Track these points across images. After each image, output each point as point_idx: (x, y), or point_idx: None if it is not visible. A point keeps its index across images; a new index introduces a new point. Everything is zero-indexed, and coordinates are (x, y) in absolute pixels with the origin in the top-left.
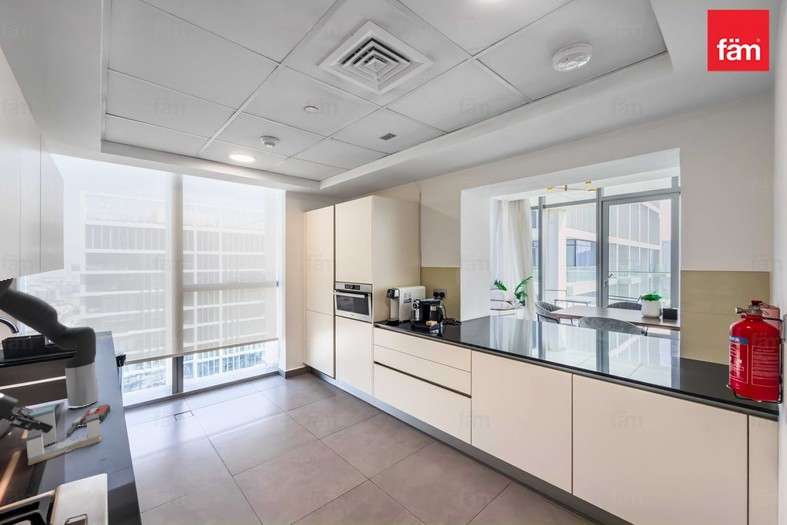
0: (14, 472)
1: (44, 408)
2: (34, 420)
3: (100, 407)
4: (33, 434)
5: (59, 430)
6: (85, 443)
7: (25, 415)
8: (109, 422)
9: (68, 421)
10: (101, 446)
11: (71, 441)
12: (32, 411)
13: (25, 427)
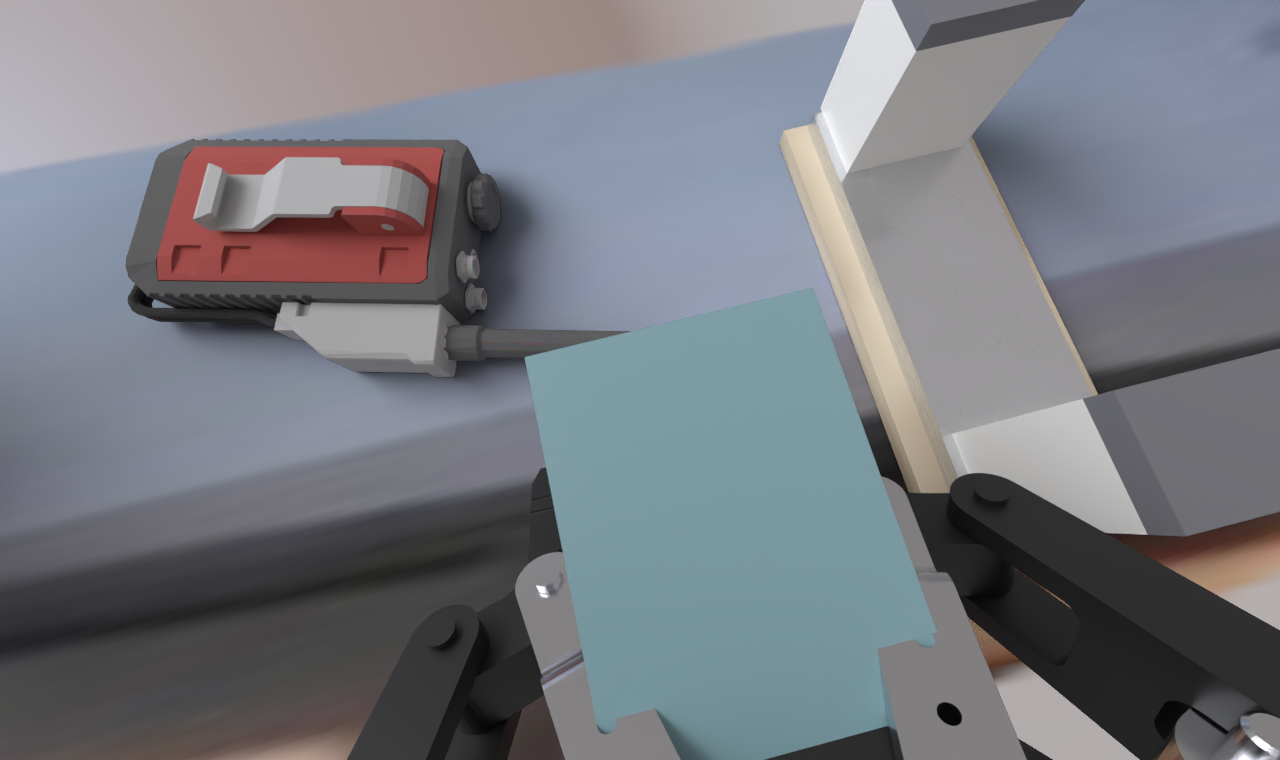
0: (1197, 549)
1: (560, 498)
2: (921, 550)
3: (238, 175)
4: (1271, 437)
5: (409, 477)
6: (983, 170)
7: (1012, 746)
8: (561, 129)
9: (197, 464)
10: (1047, 88)
11: (936, 251)
12: (566, 722)
13: (1068, 623)
